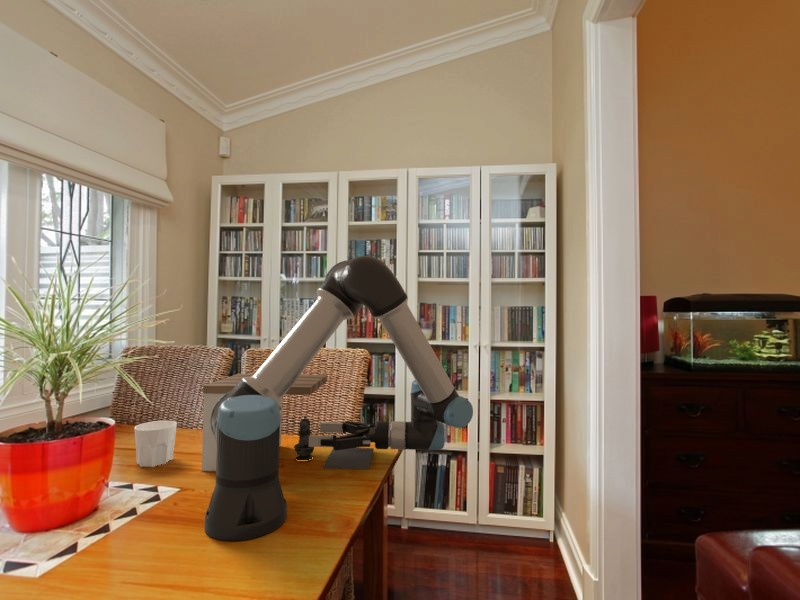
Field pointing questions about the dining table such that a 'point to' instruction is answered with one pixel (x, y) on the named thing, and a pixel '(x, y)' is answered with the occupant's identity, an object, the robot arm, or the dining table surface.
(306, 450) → the black chess piece
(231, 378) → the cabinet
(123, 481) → the dining table surface
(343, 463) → the mat
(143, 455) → the cup
